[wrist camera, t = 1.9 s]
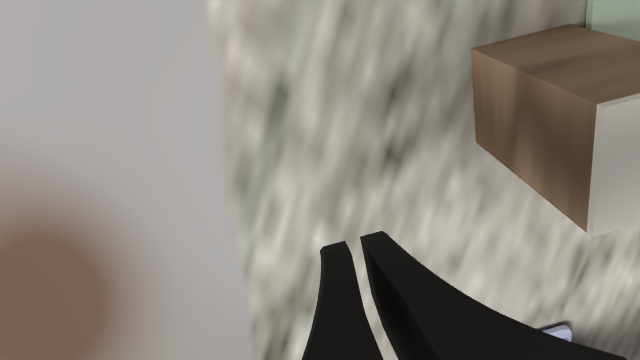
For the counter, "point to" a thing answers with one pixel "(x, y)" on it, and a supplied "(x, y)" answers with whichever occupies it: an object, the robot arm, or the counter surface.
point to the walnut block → (566, 120)
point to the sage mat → (614, 17)
